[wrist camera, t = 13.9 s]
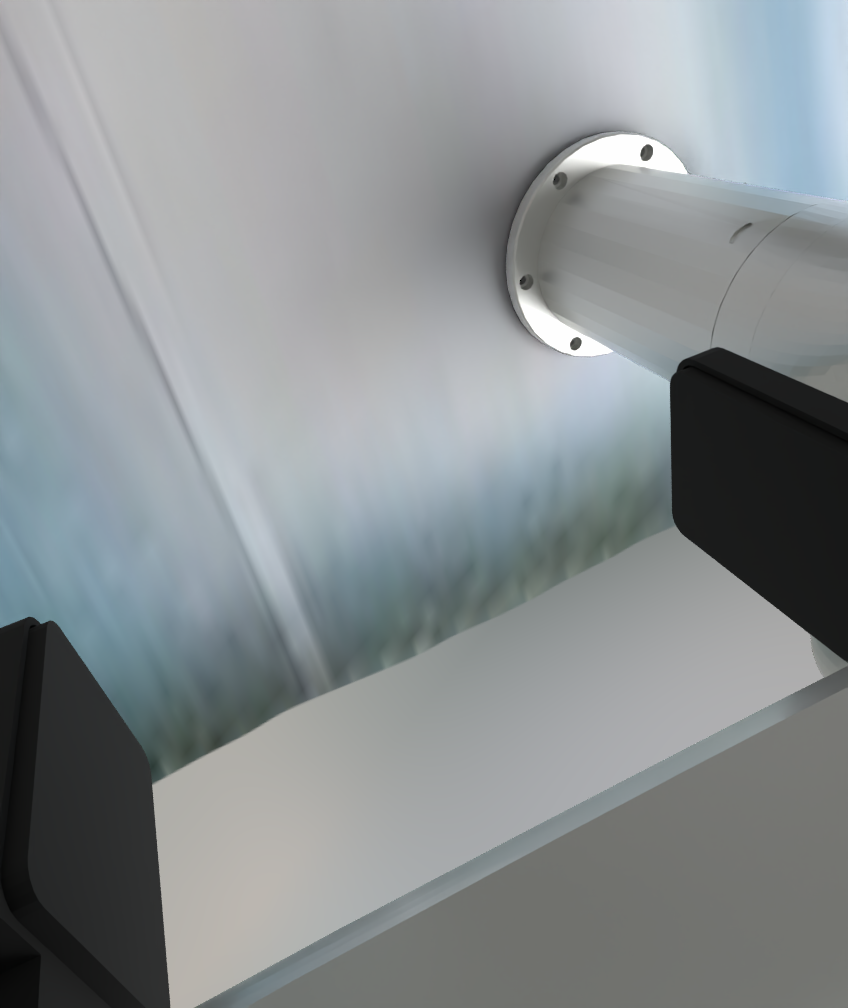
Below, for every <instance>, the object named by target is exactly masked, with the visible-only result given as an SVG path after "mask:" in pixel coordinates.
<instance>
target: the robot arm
mask: <svg viewBox="0 0 848 1008" xmlns="http://www.w3.org/2000/svg"><path fill="white" fill-rule="evenodd" d="M554 177H555V181H554V183H553V179H554ZM506 275H507V286H508V291H509V294H510V297H511V301H512V304H513V307H514V309H515V311H516V313H517V315H518V317H519V319H520V321H521V322H522V324H523V325H524V326H525V327H526V328H527V330H528V331H529V332H530V333H531V334H532V335H533V336H534V337H535V338H537V339H538V340H539V341H541V342H542V343H544V344H545V345H547V346H549V347H550V348H552V349H554V350H556V351H558V352H560V353H563V354H566V355H570V356H576V357H594V356H599V355H605V354H609V353H611V352H616V353H617V354H619V355H621V356H623V357H625V358H627V359H629V360H631V361H632V362H634V363H636V364H638V365H640V366H642V367H644V368H646V369H647V370H649V371H651V372H653V373H655V374H657V375H659V376H661V377H662V378H664V379H666V380H668V381H670V412H671V470H672V514H673V519H674V522H675V524H676V526H677V528H678V529H679V531H680V532H681V533H682V534H683V535H684V536H685V537H687V538H688V539H689V540H691V541H692V542H693V543H694V544H696V545H697V546H698V547H699V548H701V549H702V550H703V551H704V552H706V553H707V554H708V555H710V556H711V557H712V558H714V559H715V560H716V561H717V562H719V563H720V564H721V565H722V566H724V567H725V568H726V569H727V570H729V571H730V572H731V573H733V574H734V575H735V576H736V577H738V578H739V579H740V580H742V581H743V582H744V583H745V584H747V585H748V586H750V587H751V588H752V589H753V590H754V591H756V592H757V593H758V594H759V595H761V596H762V597H764V598H765V599H766V600H767V601H768V602H770V603H771V604H772V605H774V606H775V607H776V608H777V609H779V610H780V611H781V612H783V613H784V614H785V615H786V616H788V617H789V618H790V619H791V620H793V621H794V622H795V623H797V624H798V625H799V626H801V627H802V628H803V629H804V630H806V631H807V632H808V633H809V634H810V636H811V645H812V652H813V655H814V658H815V661H816V664H817V666H818V668H819V670H820V672H821V674H822V675H823V677H824V678H823V679H821V680H819V681H817V682H815V683H813V684H811V685H809V686H807V687H805V688H803V689H801V690H800V691H797V692H795V693H793V694H791V695H789V696H788V697H785V698H784V699H782V700H780V701H778V702H776V703H774V704H772V705H770V706H768V707H766V708H764V709H762V710H760V711H758V712H756V713H754V714H752V715H750V716H748V717H746V718H744V719H742V720H741V721H739V722H737V723H735V724H733V725H731V726H729V727H727V728H725V729H723V730H721V731H719V732H717V733H715V734H713V735H711V736H709V737H708V738H706V739H704V740H702V741H700V742H698V743H696V744H694V745H692V746H690V747H688V748H686V749H684V750H682V751H680V752H678V753H676V754H675V755H673V756H671V757H669V758H667V759H665V760H663V761H661V762H659V763H657V764H655V765H653V766H651V767H649V768H648V769H645V770H644V771H642V772H640V773H638V774H636V775H634V776H632V777H630V778H628V779H626V780H624V781H622V782H621V783H618V784H616V785H615V786H613V787H611V788H609V789H607V790H605V791H603V792H601V793H599V794H597V795H595V796H593V797H591V798H590V799H587V800H586V801H584V802H582V803H580V804H578V805H576V806H574V807H572V808H570V809H568V810H566V811H564V812H563V813H560V814H559V815H557V816H555V817H553V818H551V819H549V820H547V821H545V822H543V823H541V824H540V825H537V826H535V827H534V828H532V829H530V830H528V831H526V832H524V833H522V834H520V835H518V836H516V837H514V838H512V839H510V840H509V841H507V842H505V843H503V844H501V845H499V846H497V847H495V848H493V849H491V850H489V851H488V852H486V853H484V854H482V855H480V856H478V857H476V858H474V859H472V860H470V861H469V862H467V863H465V864H463V865H461V866H459V867H457V868H455V869H453V870H451V871H450V872H447V873H445V874H444V875H442V876H440V877H438V878H436V879H434V880H432V881H430V882H428V883H426V884H424V885H423V886H421V887H419V888H417V889H415V890H413V891H411V892H409V893H407V894H405V895H404V896H402V897H400V898H398V899H396V900H394V901H392V902H390V903H388V904H386V905H384V906H382V907H381V908H379V909H377V910H375V911H373V912H371V913H369V914H367V915H365V916H363V917H361V918H360V919H358V920H356V921H354V922H352V923H350V924H348V925H346V926H344V927H342V928H340V929H338V930H337V931H335V932H333V933H331V934H329V935H327V936H325V937H324V938H322V939H320V940H318V941H316V942H314V943H313V944H311V945H309V946H307V947H305V948H303V949H302V950H300V951H298V952H296V953H294V954H292V955H291V956H289V957H287V958H285V959H283V960H281V961H280V962H278V963H276V964H274V965H272V966H270V967H268V968H267V969H265V970H263V971H261V972H259V973H257V974H256V975H254V976H252V977H250V978H248V979H246V980H244V981H243V982H241V983H239V984H237V985H236V986H233V987H232V988H230V989H228V990H226V991H224V992H222V993H221V994H219V995H217V996H215V997H213V998H212V999H210V1000H208V1001H206V1002H204V1003H202V1004H200V1005H199V1006H197V1007H195V1008H848V201H844V200H838V199H832V198H826V197H820V196H814V195H808V194H802V193H797V192H791V191H785V190H779V189H773V188H767V187H761V186H755V185H749V184H746V183H737V182H731V181H725V180H720V179H714V178H708V177H702V176H696V175H690V174H688V172H687V170H686V169H685V167H684V165H683V163H682V162H681V160H680V159H679V158H678V157H677V156H676V155H675V154H674V153H673V151H672V150H671V149H670V148H668V147H667V146H665V145H664V144H662V143H661V142H659V141H658V140H656V139H654V138H651V137H648V136H645V135H642V134H639V133H631V132H622V131H620V132H606V133H600V134H597V135H594V136H590V137H587V138H584V139H582V140H580V141H579V142H577V143H575V144H573V145H571V146H570V147H568V148H566V149H565V150H563V151H562V152H561V153H560V154H559V155H558V156H556V157H555V158H554V159H553V160H552V161H550V162H549V163H548V164H547V165H546V167H545V168H544V169H543V170H542V171H541V173H540V174H539V175H538V176H537V177H536V179H535V180H534V181H533V182H532V184H531V186H530V187H529V189H528V191H527V193H526V194H525V196H524V198H523V199H522V201H521V203H520V206H519V208H518V211H517V213H516V216H515V218H514V220H513V223H512V227H511V231H510V236H509V240H508V244H507V256H506ZM521 278H522V281H521V282H520V280H521ZM0 1008H170V996H169V984H168V973H167V962H166V948H165V936H164V924H163V912H162V900H161V887H160V875H159V864H158V852H157V839H156V828H155V815H154V803H153V792H152V779H151V770H150V766H149V762H148V759H147V757H146V754H145V752H144V750H143V748H142V747H141V745H140V744H139V742H138V741H137V739H136V738H135V736H134V735H133V734H132V732H131V731H130V729H129V728H128V726H127V725H126V723H125V722H124V720H123V719H122V717H121V716H120V715H119V713H118V712H117V710H116V709H115V707H114V706H113V704H112V703H111V701H110V700H109V699H108V697H107V696H106V694H105V693H104V691H103V690H102V688H101V687H100V685H99V684H98V683H97V681H96V680H95V678H94V677H93V675H92V674H91V672H90V671H89V669H88V668H87V667H86V665H85V664H84V662H83V661H82V659H81V658H80V656H79V655H78V653H77V652H76V651H75V649H74V648H73V646H72V645H71V643H70V642H69V640H68V639H67V637H66V636H65V635H64V633H63V632H62V630H61V629H60V627H59V626H58V625H57V624H56V623H55V622H54V621H48V622H45V623H43V624H40V623H39V621H37V620H36V619H35V618H33V617H27V618H25V619H22V620H20V621H17V622H15V623H12V624H10V625H7V626H5V627H2V628H0Z"/></svg>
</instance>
